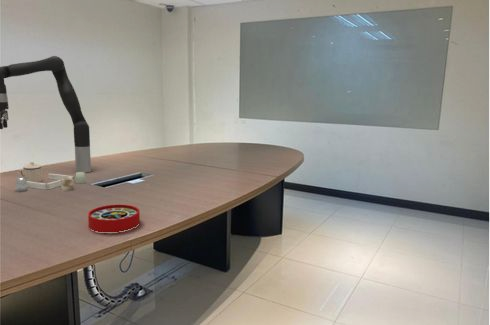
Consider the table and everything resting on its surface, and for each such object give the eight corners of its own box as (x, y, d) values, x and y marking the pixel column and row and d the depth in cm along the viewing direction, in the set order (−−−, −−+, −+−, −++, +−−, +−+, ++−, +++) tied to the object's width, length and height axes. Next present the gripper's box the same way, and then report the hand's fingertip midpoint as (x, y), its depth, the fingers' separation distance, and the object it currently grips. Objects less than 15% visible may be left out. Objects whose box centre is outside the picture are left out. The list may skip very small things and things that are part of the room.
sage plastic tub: (85, 181, 216) (85, 171, 215) (85, 183, 211) (84, 173, 210) (76, 181, 214) (75, 172, 213) (75, 183, 209) (75, 173, 208)
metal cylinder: (28, 189, 195) (27, 176, 193) (26, 191, 190) (25, 178, 189) (17, 189, 193) (16, 177, 192) (15, 192, 188) (14, 179, 187)
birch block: (70, 187, 201) (70, 177, 200) (73, 189, 197) (72, 179, 196) (61, 189, 198) (60, 178, 197) (63, 191, 194) (63, 180, 193)
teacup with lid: (45, 180, 214) (44, 161, 212) (36, 184, 205) (34, 164, 203) (26, 179, 215) (24, 160, 213) (15, 182, 206) (14, 162, 204)
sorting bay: (21, 186, 199) (20, 181, 199) (50, 178, 219) (50, 173, 218) (47, 189, 195) (46, 184, 194) (74, 181, 215) (74, 176, 214)
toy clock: (130, 202, 163) (146, 215, 147) (130, 214, 164) (146, 228, 148) (82, 208, 151) (95, 223, 135) (83, 222, 152) (95, 238, 136)
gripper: (3, 101, 209) (6, 129, 212) (11, 100, 222) (13, 127, 225) (-12, 101, 206) (-9, 129, 209) (-3, 100, 220) (-1, 127, 223)
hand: (3, 128), depth 217 cm, fingers open, 8 cm apart
